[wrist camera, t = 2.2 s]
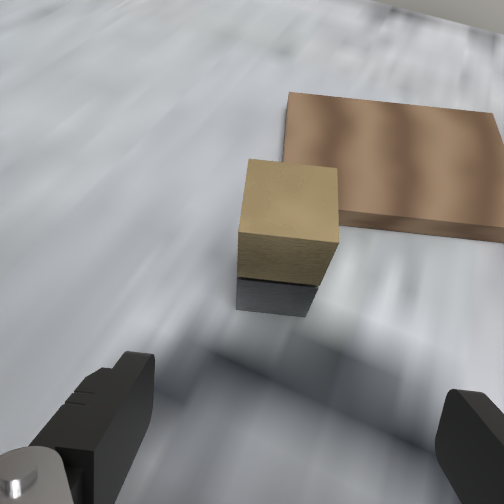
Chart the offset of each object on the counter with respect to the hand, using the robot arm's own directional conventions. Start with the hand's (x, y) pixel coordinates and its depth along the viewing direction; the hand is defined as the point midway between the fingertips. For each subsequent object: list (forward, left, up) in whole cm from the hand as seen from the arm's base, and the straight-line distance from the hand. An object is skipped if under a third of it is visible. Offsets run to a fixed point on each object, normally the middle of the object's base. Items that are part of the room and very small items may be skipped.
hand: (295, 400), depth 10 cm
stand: (+10, +24, -15) cm, 30 cm away
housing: (0, +11, -15) cm, 18 cm away
